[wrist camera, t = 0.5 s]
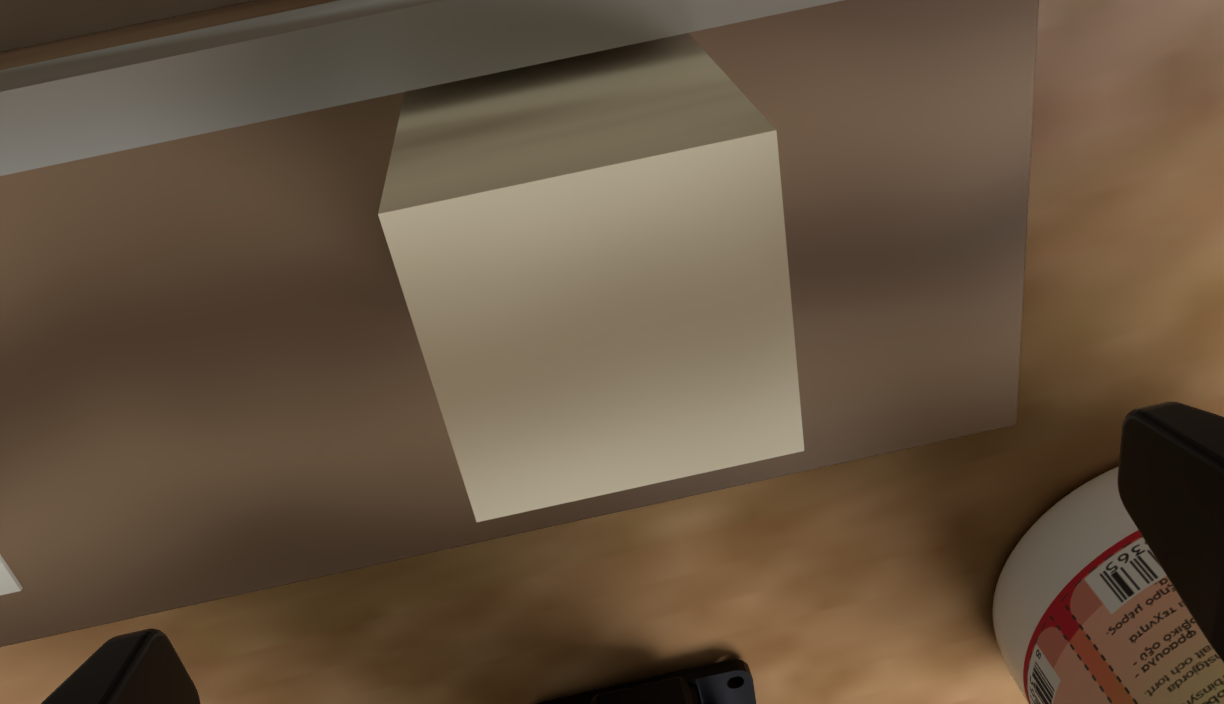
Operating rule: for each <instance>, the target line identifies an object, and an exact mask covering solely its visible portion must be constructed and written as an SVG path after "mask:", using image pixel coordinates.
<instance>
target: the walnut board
mask: <svg viewBox="0 0 1224 704" xmlns="http://www.w3.org/2000/svg"><path fill="white" fill-rule="evenodd" d="M1038 4H1039V0H254V1H250V2H245V3H240V4H235V5H230V6H225V7H220V8H216V9H211V10H206V11H201V12H196V13H191V14H186V15H181V16H177V17H172V18H167V19H162V20H157V21H152V22H147V23H143V24H138V25H133V26H128V27H123V28H118V29H113V30H109V31H104V32H99V33H94V34H89V35H84V36H79V37H74V38H70V39H65V40H60V41H55V42H50V43H45V44H40V45H36V46H31V47H26V48H21V49H16V50H11V51H6V52H2V53H0V647H2V646H7V645H11V644H16V643H21V642H25V641H30V640H34V639H39V638H43V637H48V636H53V635H57V634H62V633H66V632H71V631H75V630H80V629H85V628H89V627H94V626H98V625H103V624H107V623H112V622H117V621H121V620H126V619H130V618H135V617H139V616H144V615H149V614H153V613H158V612H162V611H167V610H172V609H176V608H181V607H185V606H190V605H194V604H199V603H204V602H208V601H213V600H217V599H222V598H226V597H231V596H236V595H240V594H245V593H249V592H254V591H258V590H263V589H268V588H272V587H277V586H281V585H286V584H290V583H295V582H300V581H304V580H309V579H313V578H318V577H322V576H327V575H332V574H336V573H341V572H345V571H350V570H354V569H359V568H364V567H368V566H373V565H377V564H382V563H386V562H391V561H396V560H400V559H405V558H409V557H414V556H419V555H423V554H428V553H432V552H437V551H441V550H446V549H451V548H455V547H460V546H464V545H469V544H473V543H478V542H483V541H487V540H492V539H496V538H501V537H505V536H510V535H515V534H519V533H524V532H528V531H533V530H537V529H542V528H547V527H551V526H556V525H560V524H565V523H569V522H574V521H579V520H583V519H588V518H592V517H597V516H601V515H606V514H611V513H615V512H620V511H624V510H629V509H633V508H638V507H643V506H647V505H652V504H656V503H661V502H666V501H670V500H675V499H679V498H684V497H688V496H693V495H698V494H702V493H707V492H711V491H716V490H720V489H725V488H730V487H734V486H739V485H743V484H748V483H752V482H757V481H762V480H766V479H771V478H775V477H780V476H784V475H789V474H794V473H798V472H803V471H807V470H812V469H816V468H821V467H826V466H830V465H835V464H839V463H844V462H848V461H853V460H858V459H862V458H867V457H871V456H876V455H880V454H885V453H890V452H894V451H899V450H903V449H908V448H912V447H917V446H922V445H926V444H931V443H935V442H940V441H945V440H949V439H954V438H958V437H963V436H967V435H972V434H977V433H981V432H986V431H990V430H995V429H999V428H1004V427H1009V426H1013V425H1016V422H1017V403H1018V384H1019V365H1020V346H1021V327H1022V308H1023V289H1024V270H1025V251H1026V232H1027V213H1028V194H1029V175H1030V156H1031V137H1032V118H1033V99H1034V80H1035V61H1036V42H1037V23H1038ZM685 33H689V34H690V35H691V36H692V37H693V39H694V40H695V41H696V42H697V43H698V44H699V45H700V46H701V47H702V48H703V50H704V51H705V52H706V53H707V54H708V55H709V56H710V57H711V58H712V60H713V61H714V62H715V63H716V64H717V65H718V66H719V67H720V68H721V69H722V71H723V72H724V73H725V74H726V75H727V76H728V77H729V78H730V79H731V81H732V82H733V83H734V84H735V85H736V86H737V87H738V88H739V89H740V90H741V92H742V93H743V94H744V95H745V96H746V97H747V98H748V99H749V100H750V101H751V103H752V104H753V105H754V106H755V107H756V108H757V109H758V110H759V111H760V113H761V114H762V115H763V116H764V117H765V118H766V119H767V120H768V121H769V122H770V124H771V125H772V126H773V127H774V128H775V129H776V131H777V142H778V154H779V165H780V177H781V188H782V199H783V211H784V222H785V234H786V245H787V257H788V268H789V280H790V291H791V303H792V314H793V325H794V337H795V348H796V360H797V371H798V383H799V394H800V406H801V417H802V429H803V440H804V451H802V452H797V453H793V454H788V455H783V456H779V457H774V458H770V459H765V460H761V461H756V462H751V463H747V464H742V465H738V466H733V467H728V468H724V469H719V470H715V471H710V472H706V473H701V474H696V475H692V476H687V477H683V478H678V479H673V480H669V481H664V482H660V483H655V484H651V485H646V486H641V487H637V488H632V489H628V490H623V491H618V492H614V493H609V494H605V495H600V496H596V497H591V498H586V499H582V500H577V501H573V502H568V503H563V504H559V505H554V506H550V507H545V508H541V509H536V510H531V511H527V512H522V513H518V514H513V515H508V516H504V517H499V518H495V519H490V520H486V521H481V522H476V519H475V516H474V512H473V509H472V506H471V503H470V500H469V497H468V494H467V491H466V487H465V484H464V481H463V478H462V475H461V472H460V469H459V466H458V463H457V459H456V456H455V453H454V450H453V447H452V444H451V441H450V438H449V434H448V431H447V428H446V425H445V422H444V419H443V416H442V413H441V409H440V406H439V403H438V400H437V397H436V394H435V391H434V388H433V385H432V381H431V378H430V375H429V372H428V369H427V366H426V363H425V360H424V356H423V353H422V350H421V347H420V344H419V341H418V338H417V335H416V331H415V328H414V325H413V322H412V319H411V316H410V313H409V310H408V306H407V303H406V300H405V297H404V294H403V291H402V288H401V285H400V282H399V278H398V275H397V272H396V269H395V266H394V263H393V260H392V257H391V253H390V250H389V247H388V244H387V241H386V238H385V235H384V232H383V228H382V225H381V222H380V219H379V216H378V212H379V207H380V203H381V198H382V193H383V189H384V184H385V180H386V175H387V171H388V166H389V162H390V157H391V152H392V148H393V143H394V139H395V134H396V130H397V125H398V121H399V116H400V112H401V107H402V102H403V98H404V93H405V92H406V91H411V90H416V89H421V88H426V87H430V86H435V85H440V84H445V83H450V82H454V81H459V80H464V79H469V78H474V77H478V76H483V75H488V74H493V73H498V72H502V71H507V70H512V69H517V68H522V67H526V66H531V65H536V64H541V63H546V62H550V61H555V60H560V59H565V58H570V57H574V56H579V55H584V54H589V53H594V52H598V51H603V50H608V49H613V48H618V47H622V46H627V45H632V44H637V43H642V42H646V41H651V40H656V39H661V38H666V37H670V36H675V35H680V34H685Z"/></svg>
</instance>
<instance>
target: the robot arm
mask: <svg viewBox="0 0 1224 704" xmlns="http://www.w3.org/2000/svg"><path fill="white" fill-rule="evenodd" d="M1117 484H1118V491H1119V495H1120V498H1121V501H1122V503H1123V505H1124V507H1125V509H1126V511H1127V512H1128V514H1129V516H1130V517H1131V519H1132V520H1133V522H1134V524H1135V525H1136V527H1137V528H1138V530H1139V532H1140V533H1141V535H1142V537H1143V538H1144V540H1145V541H1146V543H1147V545H1148V546H1149V548H1150V550H1151V551H1152V553H1153V554H1154V556H1155V558H1156V559H1157V561H1158V562H1159V564H1160V566H1161V567H1162V569H1163V571H1164V572H1165V574H1166V575H1167V577H1168V579H1169V580H1170V582H1171V584H1172V585H1173V587H1174V588H1175V590H1176V592H1177V593H1178V595H1179V596H1180V598H1181V600H1182V601H1183V603H1184V605H1185V606H1186V608H1187V609H1188V611H1189V613H1190V614H1191V616H1192V617H1193V619H1194V621H1195V622H1196V624H1197V625H1198V627H1199V628H1200V630H1201V631H1202V633H1203V634H1204V636H1205V637H1206V639H1207V640H1208V642H1209V643H1210V645H1211V646H1212V648H1213V649H1214V650H1215V652H1216V653H1217V654H1218V656H1219V657H1220V658H1221V660H1222V661H1223V662H1224V417H1222V416H1219V415H1216V414H1213V413H1210V412H1206V411H1203V410H1200V409H1197V408H1194V407H1191V406H1188V405H1185V404H1182V403H1178V402H1165V403H1160V404H1156V405H1151V406H1147V407H1142V408H1138V409H1134V410H1132V411H1131V412H1129V413H1128V414H1127V415H1126V417H1125V419H1124V422H1123V427H1122V437H1121V447H1120V457H1119V467H1118V478H1117ZM735 676H736V677H735ZM732 677H734V678H732ZM41 704H200V700H199V695H198V692H197V689H196V687H195V685H194V683H193V681H192V680H191V678H190V676H189V674H188V673H187V671H186V669H185V667H184V665H183V664H182V662H181V660H180V658H179V657H178V655H177V653H176V651H175V649H174V648H173V646H172V644H171V642H170V641H169V639H168V638H167V636H166V635H165V634H164V633H163V632H161V631H160V630H158V629H146V630H142V631H137V632H133V633H128V634H124V635H119V636H116V637H113V638H111V639H110V640H108V641H107V642H106V643H104V644H103V645H102V646H101V647H100V648H99V649H98V650H97V651H96V652H95V653H94V654H93V655H92V656H91V657H90V658H89V659H88V660H86V661H85V662H84V663H83V664H82V665H81V666H80V667H79V668H78V669H77V670H76V671H75V672H74V673H73V674H72V675H71V676H70V677H69V678H67V679H66V680H65V681H64V682H63V683H62V684H61V685H60V686H59V687H58V688H57V689H56V690H55V691H54V692H53V693H52V694H51V695H50V696H48V697H47V698H46V699H45V700H44V701H43V702H42V703H41ZM538 704H756V699H755V692H754V685H753V678H752V675H751V672H750V669H749V667H748V664H747V663H745V662H744V661H742V660H737V659H736V660H728V661H724V662H719V663H715V664H710V665H706V666H701V667H697V668H692V669H688V670H683V671H679V672H674V673H670V674H665V675H661V676H656V677H652V678H647V679H643V680H638V681H634V682H629V683H625V684H620V685H616V686H611V687H607V688H602V689H598V690H593V691H589V692H584V693H580V694H575V695H571V696H566V697H562V698H557V699H553V700H548V701H544V702H541V703H538Z"/></svg>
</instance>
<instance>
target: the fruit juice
mask: <svg viewBox="0 0 1224 704" xmlns="http://www.w3.org/2000/svg"><path fill="white" fill-rule="evenodd" d="M1117 478H1118V467H1116V468H1114V469H1112V470H1109V471H1107V472H1105V473H1103V474H1101V475H1099V476H1097V477H1095V478H1094V479H1092V480H1090V481H1088V482H1086V483H1085V484H1083V485H1082V486H1080V487H1078V488H1077V489H1075V490H1074V491H1072V492H1071V493H1069V494H1068V495H1067V496H1065V497H1064V498H1063V499H1061V500H1060V501H1059V502H1057V503H1056V504H1055V505H1054V506H1052V507H1051V508H1050V509H1049V510H1048V511H1047V512H1046V513H1045V514H1043V515H1042V516H1041V517H1040V518H1039V519H1038V520H1037V521H1036V522H1035V523H1034V524H1033V526H1032V527H1031V528H1030V529H1029V530H1028V531H1027V532H1026V533H1025V535H1024V536H1023V537H1022V538H1021V540H1020V541H1019V542H1018V544H1017V545H1016V547H1015V548H1014V550H1013V551H1012V553H1011V554H1010V556H1009V558H1008V559H1007V561H1006V563H1005V565H1004V567H1003V569H1002V572H1001V574H1000V577H999V579H998V582H997V585H996V589H995V594H994V600H993V625H994V630H995V635H996V639H997V643H998V646H999V649H1000V651H1001V654H1002V656H1003V658H1004V660H1005V663H1006V665H1007V667H1008V670H1009V672H1010V674H1011V676H1012V677H1013V679H1014V681H1015V682H1016V684H1017V685H1018V687H1019V689H1020V690H1021V692H1022V694H1023V695H1024V697H1025V699H1026V700H1027V702H1028V703H1029V704H1224V662H1223V661H1222V660H1221V658H1220V657H1219V656H1218V654H1217V653H1216V652H1215V650H1214V649H1213V648H1212V646H1211V645H1210V643H1209V642H1208V640H1207V639H1206V637H1205V636H1204V634H1203V633H1202V631H1201V630H1200V628H1199V627H1198V625H1197V624H1196V622H1195V621H1194V619H1193V617H1192V616H1191V614H1190V613H1189V611H1188V609H1187V608H1186V606H1185V605H1184V603H1183V601H1182V600H1181V598H1180V596H1179V595H1178V593H1177V592H1176V590H1175V588H1174V587H1173V585H1172V584H1171V582H1170V580H1169V579H1168V577H1167V575H1166V574H1165V572H1164V571H1163V569H1162V567H1161V566H1160V564H1159V562H1158V561H1157V559H1156V558H1155V556H1154V554H1153V553H1152V551H1151V550H1150V548H1149V546H1148V545H1147V543H1146V541H1145V540H1144V538H1143V537H1142V535H1141V533H1140V532H1139V530H1138V528H1137V527H1136V525H1135V524H1134V522H1133V520H1132V519H1131V517H1130V516H1129V514H1128V512H1127V511H1126V509H1125V507H1124V505H1123V503H1122V501H1121V498H1120V495H1119V491H1118V484H1117Z"/></svg>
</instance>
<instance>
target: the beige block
mask: <svg viewBox="0 0 1224 704" xmlns="http://www.w3.org/2000/svg"><path fill="white" fill-rule="evenodd" d="M378 216H379V219H380V222H381V225H382V228H383V232H384V235H385V238H386V241H387V244H388V247H389V250H390V253H391V257H392V260H393V263H394V266H395V269H396V272H397V275H398V278H399V282H400V285H401V288H402V291H403V294H404V297H405V300H406V303H407V306H408V310H409V313H410V316H411V319H412V322H413V325H414V328H415V331H416V335H417V338H418V341H419V344H420V347H421V350H422V353H423V356H424V360H425V363H426V366H427V369H428V372H429V375H430V378H431V381H432V385H433V388H434V391H435V394H436V397H437V400H438V403H439V406H440V409H441V413H442V416H443V419H444V422H445V425H446V428H447V431H448V434H449V438H450V441H451V444H452V447H453V450H454V453H455V456H456V459H457V463H458V466H459V469H460V472H461V475H462V478H463V481H464V484H465V487H466V491H467V494H468V497H469V500H470V503H471V506H472V509H473V512H474V516H475V519H476V522H481V521H486V520H490V519H495V518H499V517H504V516H508V515H513V514H518V513H522V512H527V511H531V510H536V509H541V508H545V507H550V506H554V505H559V504H563V503H568V502H573V501H577V500H582V499H586V498H591V497H596V496H600V495H605V494H609V493H614V492H618V491H623V490H628V489H632V488H637V487H641V486H646V485H651V484H655V483H660V482H664V481H669V480H673V479H678V478H683V477H687V476H692V475H696V474H701V473H706V472H710V471H715V470H719V469H724V468H728V467H733V466H738V465H742V464H747V463H751V462H756V461H761V460H765V459H770V458H774V457H779V456H783V455H788V454H793V453H797V452H802V451H804V440H803V429H802V417H801V406H800V394H799V383H798V371H797V360H796V348H795V337H794V325H793V314H792V303H791V291H790V280H789V268H788V257H787V245H786V234H785V222H784V211H783V199H782V188H781V177H780V165H779V154H778V142H777V131H776V129H775V128H774V127H773V126H772V125H771V124H770V122H769V121H768V120H767V119H766V118H765V117H764V116H763V115H762V114H761V113H760V111H759V110H758V109H757V108H756V107H755V106H754V105H753V104H752V103H751V101H750V100H749V99H748V98H747V97H746V96H745V95H744V94H743V93H742V92H741V90H740V89H739V88H738V87H737V86H736V85H735V84H734V83H733V82H732V81H731V79H730V78H729V77H728V76H727V75H726V74H725V73H724V72H723V71H722V69H721V68H720V67H719V66H718V65H717V64H716V63H715V62H714V61H713V60H712V58H711V57H710V56H709V55H708V54H707V53H706V52H705V51H704V50H703V48H702V47H701V46H700V45H699V44H698V43H697V42H696V41H695V40H694V39H693V37H692V36H691V35H690V34H689V33H685V34H680V35H675V36H670V37H666V38H661V39H656V40H651V41H646V42H642V43H637V44H632V45H627V46H622V47H618V48H613V49H608V50H603V51H598V52H594V53H589V54H584V55H579V56H574V57H570V58H565V59H560V60H555V61H550V62H546V63H541V64H536V65H531V66H526V67H522V68H517V69H512V70H507V71H502V72H498V73H493V74H488V75H483V76H478V77H474V78H469V79H464V80H459V81H454V82H450V83H445V84H440V85H435V86H430V87H426V88H421V89H416V90H411V91H406V92H405V93H404V98H403V102H402V107H401V112H400V116H399V121H398V125H397V130H396V134H395V139H394V143H393V148H392V152H391V157H390V162H389V166H388V171H387V175H386V180H385V184H384V189H383V193H382V198H381V203H380V207H379V212H378Z"/></svg>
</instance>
